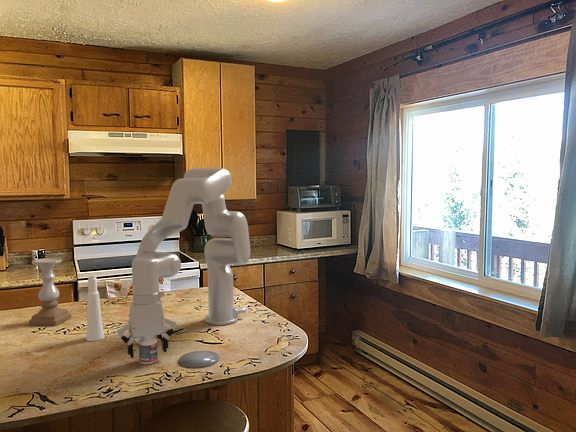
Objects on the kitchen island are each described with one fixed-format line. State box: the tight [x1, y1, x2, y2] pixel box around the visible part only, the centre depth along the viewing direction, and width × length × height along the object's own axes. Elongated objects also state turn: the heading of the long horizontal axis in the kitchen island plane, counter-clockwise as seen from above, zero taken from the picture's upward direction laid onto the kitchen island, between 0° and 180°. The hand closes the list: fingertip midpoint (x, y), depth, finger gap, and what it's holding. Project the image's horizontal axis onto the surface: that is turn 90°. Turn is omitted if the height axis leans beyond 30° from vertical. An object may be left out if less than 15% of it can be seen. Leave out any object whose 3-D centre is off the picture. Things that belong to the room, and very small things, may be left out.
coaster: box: [178, 350, 220, 369], centre depth 147 cm, size 12×12×1 cm
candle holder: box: [28, 257, 72, 327], centre depth 185 cm, size 11×11×24 cm
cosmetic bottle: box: [85, 274, 105, 342], centre depth 166 cm, size 6×6×22 cm
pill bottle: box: [138, 335, 158, 365], centre depth 146 cm, size 5×5×9 cm
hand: (148, 353), depth 146 cm, fingers open, 9 cm apart
